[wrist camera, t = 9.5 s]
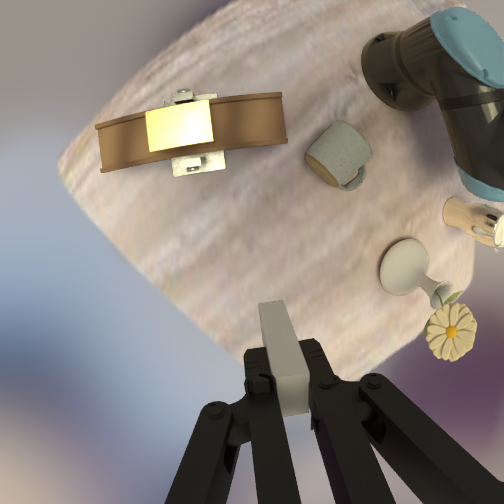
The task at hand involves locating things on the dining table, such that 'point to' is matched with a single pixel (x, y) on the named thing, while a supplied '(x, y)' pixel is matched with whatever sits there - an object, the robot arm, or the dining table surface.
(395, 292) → the flower in vase
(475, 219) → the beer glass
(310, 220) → the dining table surface
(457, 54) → the robot arm
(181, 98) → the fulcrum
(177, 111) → the block
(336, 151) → the ceramic mug
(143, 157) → the beam
